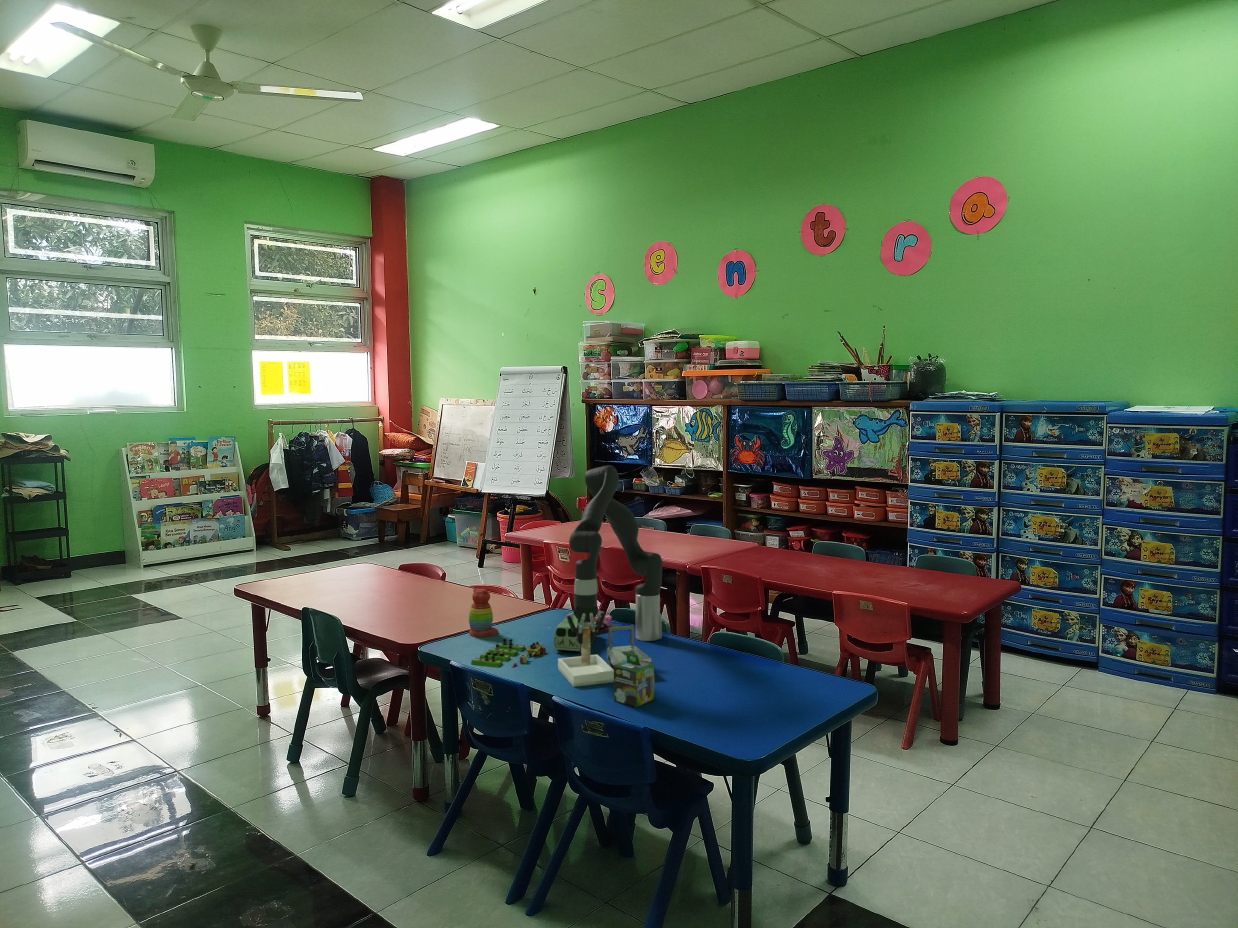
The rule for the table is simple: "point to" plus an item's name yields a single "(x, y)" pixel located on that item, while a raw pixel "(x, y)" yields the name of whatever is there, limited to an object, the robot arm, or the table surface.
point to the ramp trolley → (623, 648)
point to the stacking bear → (481, 615)
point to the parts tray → (586, 671)
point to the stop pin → (585, 646)
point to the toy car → (568, 636)
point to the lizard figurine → (605, 625)
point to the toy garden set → (507, 653)
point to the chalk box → (634, 681)
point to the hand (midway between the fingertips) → (585, 642)
